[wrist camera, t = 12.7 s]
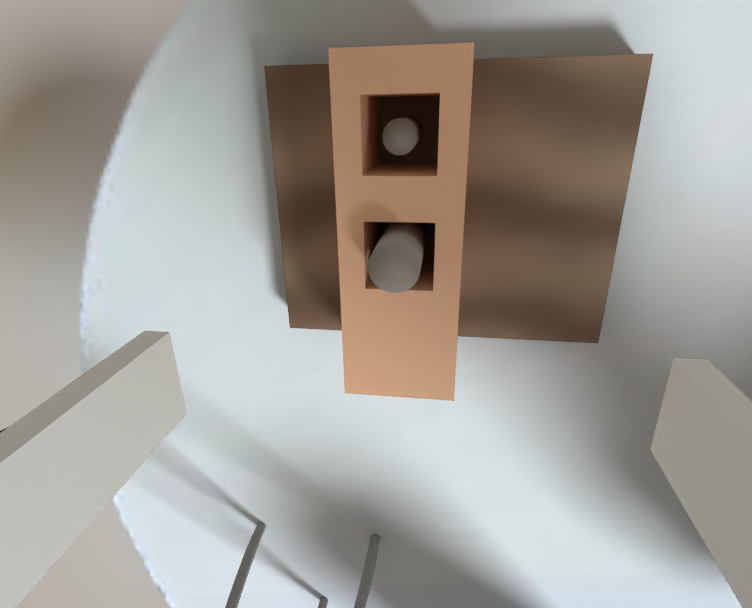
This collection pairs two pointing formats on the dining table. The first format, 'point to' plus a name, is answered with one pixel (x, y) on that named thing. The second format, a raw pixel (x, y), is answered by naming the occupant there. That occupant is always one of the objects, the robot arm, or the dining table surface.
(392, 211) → the block
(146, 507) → the dining table surface
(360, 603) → the citrus juicer
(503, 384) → the dining table surface
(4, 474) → the robot arm
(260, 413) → the dining table surface
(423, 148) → the post base
